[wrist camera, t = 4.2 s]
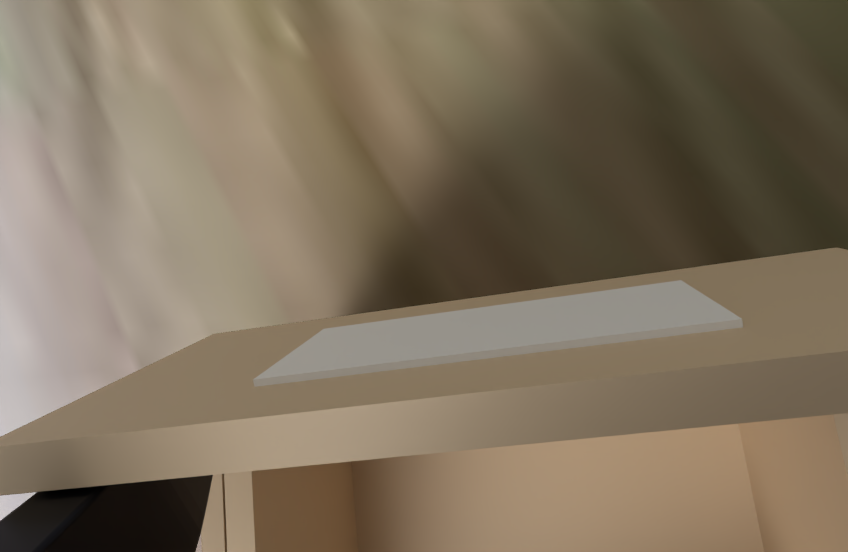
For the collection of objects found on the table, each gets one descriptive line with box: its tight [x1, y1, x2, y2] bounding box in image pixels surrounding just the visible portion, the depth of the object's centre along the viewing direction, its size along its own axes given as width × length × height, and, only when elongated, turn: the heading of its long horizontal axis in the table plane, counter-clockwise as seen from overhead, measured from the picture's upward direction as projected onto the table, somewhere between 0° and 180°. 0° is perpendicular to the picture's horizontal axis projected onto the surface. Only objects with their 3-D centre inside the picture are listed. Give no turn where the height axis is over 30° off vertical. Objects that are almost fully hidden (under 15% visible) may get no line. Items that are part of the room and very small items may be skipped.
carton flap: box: [0, 247, 848, 495], centre depth 10 cm, size 6×12×1 cm
